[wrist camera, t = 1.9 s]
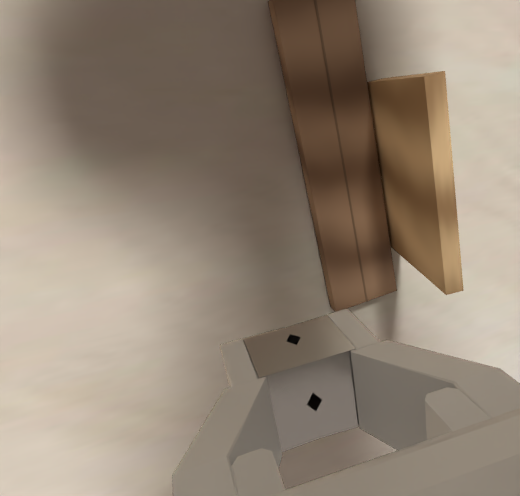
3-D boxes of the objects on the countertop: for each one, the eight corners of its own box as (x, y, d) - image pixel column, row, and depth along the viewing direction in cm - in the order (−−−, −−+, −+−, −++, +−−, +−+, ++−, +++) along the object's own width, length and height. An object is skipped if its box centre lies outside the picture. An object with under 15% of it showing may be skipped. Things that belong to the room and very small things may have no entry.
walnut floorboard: (267, 1, 31) (272, -3, 30) (344, -16, 32) (352, -21, 31) (330, 306, 39) (336, 312, 38) (389, 285, 40) (397, 290, 39)
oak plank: (382, 78, 34) (367, 82, 34) (444, 71, 24) (424, 76, 24) (403, 243, 38) (390, 246, 38) (463, 290, 29) (446, 295, 29)
